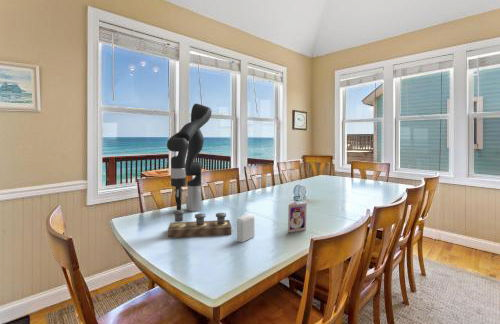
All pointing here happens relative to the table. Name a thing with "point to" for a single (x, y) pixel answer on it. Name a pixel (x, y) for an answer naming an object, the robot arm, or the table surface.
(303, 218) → the greeting card
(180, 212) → the left knob
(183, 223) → the mount board
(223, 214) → the right knob
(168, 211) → the table surface
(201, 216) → the middle knob
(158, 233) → the table surface
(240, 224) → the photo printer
